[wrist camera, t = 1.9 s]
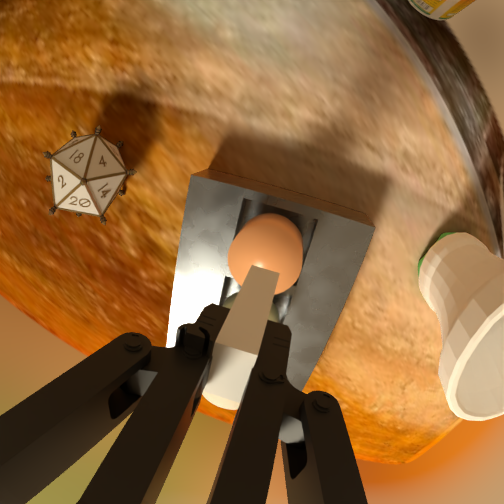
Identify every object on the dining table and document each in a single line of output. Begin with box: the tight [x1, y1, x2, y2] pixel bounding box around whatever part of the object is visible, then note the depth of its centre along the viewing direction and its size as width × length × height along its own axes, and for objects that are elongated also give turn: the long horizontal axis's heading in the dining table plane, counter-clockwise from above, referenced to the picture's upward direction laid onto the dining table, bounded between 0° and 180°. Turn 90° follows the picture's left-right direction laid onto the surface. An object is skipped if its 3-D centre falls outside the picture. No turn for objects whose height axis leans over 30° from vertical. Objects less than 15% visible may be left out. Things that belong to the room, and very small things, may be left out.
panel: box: [167, 169, 375, 392], centre depth 27 cm, size 14×20×4 cm
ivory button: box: [202, 388, 240, 410], centre depth 26 cm, size 5×5×3 cm
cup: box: [418, 232, 504, 421], centre depth 18 cm, size 11×11×14 cm
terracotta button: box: [228, 213, 303, 295], centre depth 21 cm, size 5×5×3 cm
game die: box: [43, 125, 137, 225], centre depth 24 cm, size 9×8×10 cm
